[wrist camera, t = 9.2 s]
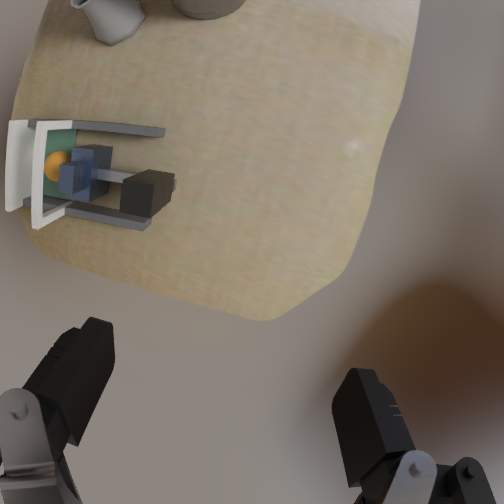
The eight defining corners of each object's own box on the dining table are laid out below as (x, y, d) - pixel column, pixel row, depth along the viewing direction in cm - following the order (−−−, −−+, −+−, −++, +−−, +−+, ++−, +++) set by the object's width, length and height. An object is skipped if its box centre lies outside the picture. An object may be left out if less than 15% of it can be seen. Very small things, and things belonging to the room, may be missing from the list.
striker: (92, 144, 32) (42, 152, 22) (184, 157, 33) (157, 167, 23) (88, 189, 34) (40, 211, 24) (176, 206, 35) (148, 234, 26)
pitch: (36, 119, 31) (-6, 121, 22) (165, 128, 32) (138, 127, 24) (30, 199, 35) (-9, 217, 27) (150, 223, 37) (123, 250, 28)
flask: (155, 16, 27) (126, -15, 17) (111, 55, 28) (71, 37, 19) (126, -10, 24) (94, -41, 15) (86, 26, 26) (45, 6, 17)
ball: (67, 153, 29) (77, 150, 33) (40, 152, 28) (52, 148, 32) (64, 185, 31) (75, 179, 34) (38, 183, 30) (50, 177, 33)
